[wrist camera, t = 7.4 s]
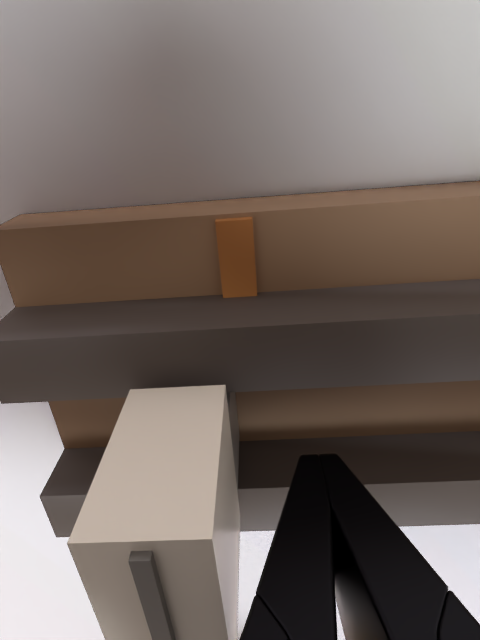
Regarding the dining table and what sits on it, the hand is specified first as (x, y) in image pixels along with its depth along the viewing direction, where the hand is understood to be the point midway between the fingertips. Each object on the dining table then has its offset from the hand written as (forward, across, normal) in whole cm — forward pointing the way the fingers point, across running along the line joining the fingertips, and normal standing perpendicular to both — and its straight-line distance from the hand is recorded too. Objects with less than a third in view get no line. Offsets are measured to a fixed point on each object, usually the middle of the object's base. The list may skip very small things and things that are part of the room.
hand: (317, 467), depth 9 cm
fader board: (+4, -4, 0) cm, 6 cm away
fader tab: (+3, +3, 0) cm, 4 cm away
